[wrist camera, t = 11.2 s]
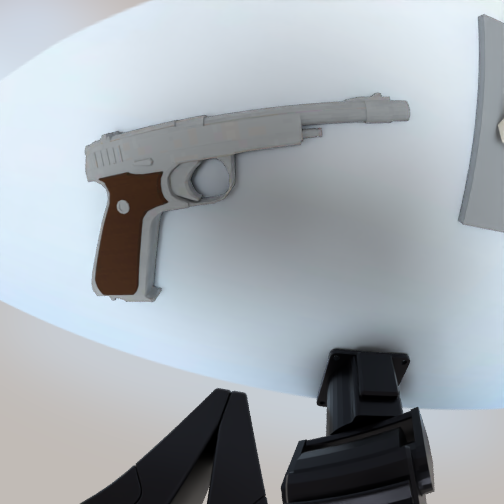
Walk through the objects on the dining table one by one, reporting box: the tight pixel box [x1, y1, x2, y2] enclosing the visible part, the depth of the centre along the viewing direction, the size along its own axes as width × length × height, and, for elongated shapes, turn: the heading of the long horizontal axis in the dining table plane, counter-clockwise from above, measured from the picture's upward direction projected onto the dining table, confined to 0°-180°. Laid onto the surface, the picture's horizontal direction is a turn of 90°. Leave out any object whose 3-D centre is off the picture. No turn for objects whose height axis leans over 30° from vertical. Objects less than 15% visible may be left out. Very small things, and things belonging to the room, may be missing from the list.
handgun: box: [85, 93, 410, 302], centre depth 20 cm, size 2×23×12 cm
